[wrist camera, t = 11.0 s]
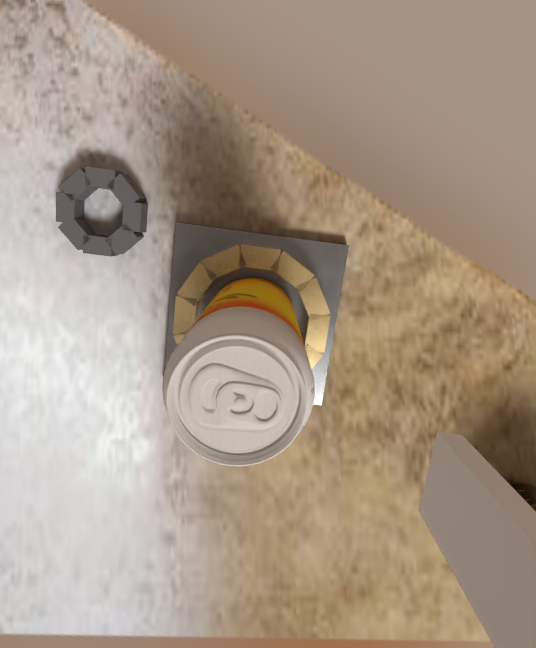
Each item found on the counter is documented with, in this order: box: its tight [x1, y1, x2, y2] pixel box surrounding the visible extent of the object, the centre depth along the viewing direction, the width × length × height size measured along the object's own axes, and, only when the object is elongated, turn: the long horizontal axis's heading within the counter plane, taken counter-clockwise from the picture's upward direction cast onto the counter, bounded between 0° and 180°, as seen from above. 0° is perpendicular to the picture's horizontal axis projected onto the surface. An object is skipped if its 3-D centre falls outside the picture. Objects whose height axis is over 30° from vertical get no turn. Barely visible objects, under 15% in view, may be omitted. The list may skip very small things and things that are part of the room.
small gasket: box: [56, 166, 148, 256], centre depth 29 cm, size 6×6×2 cm
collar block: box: [164, 222, 349, 405], centre depth 30 cm, size 12×12×3 cm
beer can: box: [163, 277, 315, 466], centre depth 23 cm, size 6×6×15 cm
